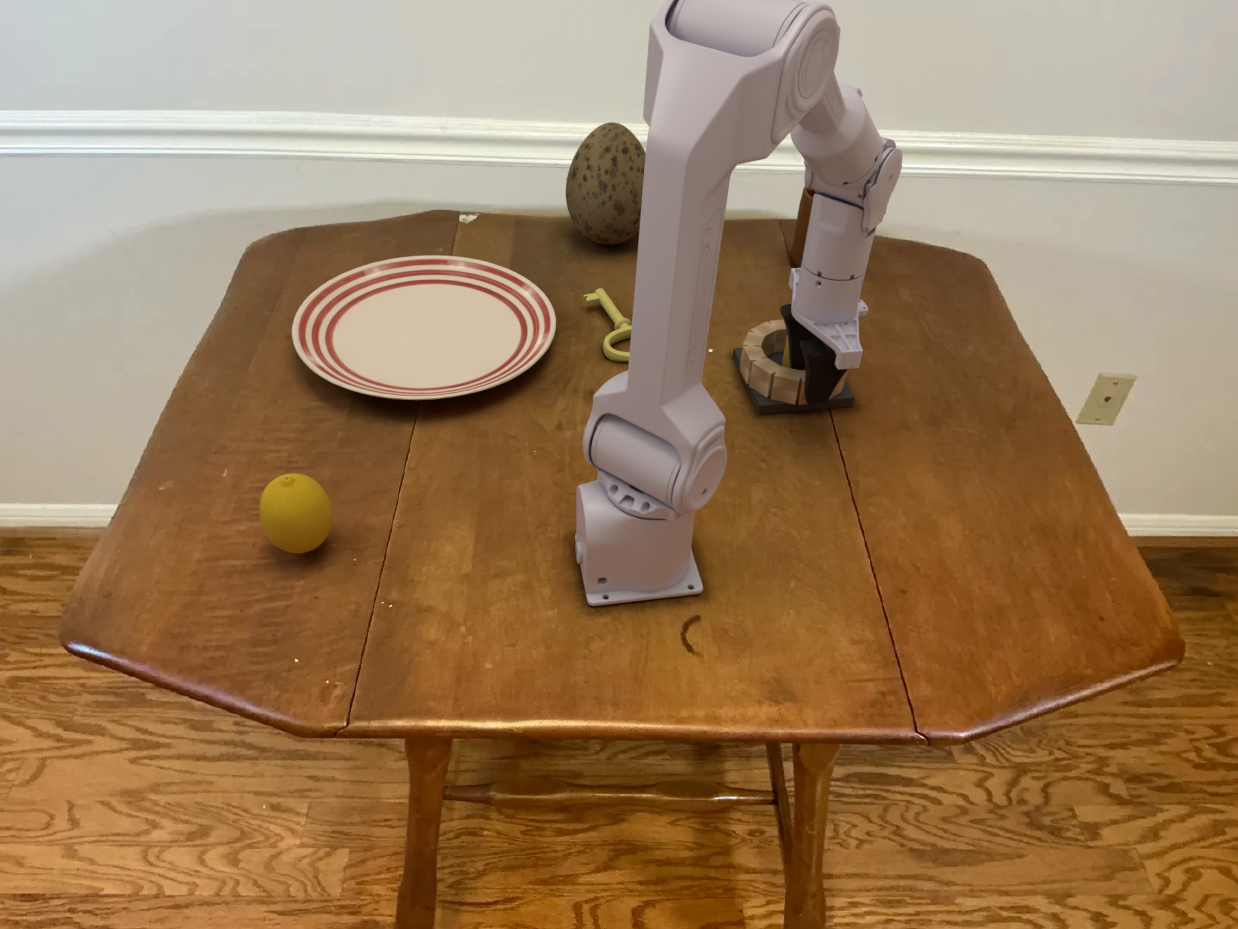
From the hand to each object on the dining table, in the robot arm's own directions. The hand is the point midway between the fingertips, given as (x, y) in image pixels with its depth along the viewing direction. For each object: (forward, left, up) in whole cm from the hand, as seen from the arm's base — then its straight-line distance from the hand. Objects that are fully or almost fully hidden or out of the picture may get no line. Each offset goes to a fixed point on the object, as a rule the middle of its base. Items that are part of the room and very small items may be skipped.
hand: (808, 386), depth 94 cm
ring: (0, +5, -2) cm, 5 cm away
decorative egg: (-14, +37, -3) cm, 39 cm away
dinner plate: (-37, +17, -3) cm, 41 cm away
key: (-16, +16, -3) cm, 23 cm away
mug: (+11, +26, -3) cm, 28 cm away
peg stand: (0, +5, -3) cm, 6 cm away
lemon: (-48, -12, -3) cm, 49 cm away
